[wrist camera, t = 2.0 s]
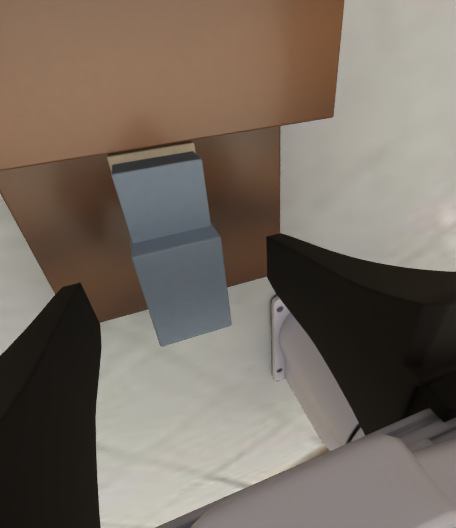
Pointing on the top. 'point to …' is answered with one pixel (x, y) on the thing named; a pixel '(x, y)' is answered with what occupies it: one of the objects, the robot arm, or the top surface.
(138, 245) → the blue stepped block
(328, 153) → the top surface
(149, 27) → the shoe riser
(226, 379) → the top surface
